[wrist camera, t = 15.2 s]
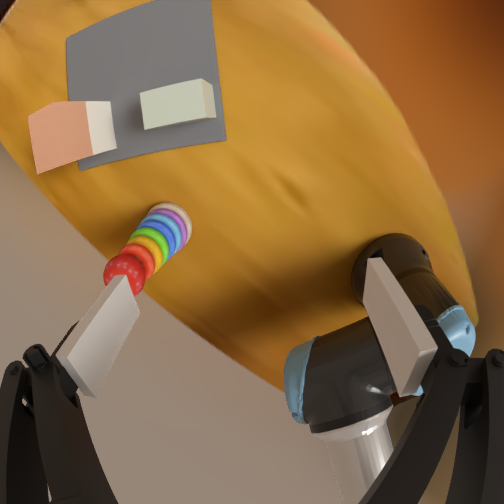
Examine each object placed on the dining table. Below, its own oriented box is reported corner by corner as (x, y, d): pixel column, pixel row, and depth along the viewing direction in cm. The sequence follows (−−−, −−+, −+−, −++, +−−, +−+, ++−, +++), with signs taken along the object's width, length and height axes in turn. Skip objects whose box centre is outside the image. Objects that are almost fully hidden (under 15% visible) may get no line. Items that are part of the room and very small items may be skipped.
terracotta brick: (60, 112, 29) (28, 116, 23) (85, 100, 28) (53, 102, 22) (68, 163, 32) (37, 174, 26) (93, 154, 32) (62, 165, 26)
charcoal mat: (209, -12, 26) (208, -13, 26) (226, 140, 38) (226, 140, 38) (67, 38, 29) (66, 38, 28) (81, 170, 40) (80, 170, 40)
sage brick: (212, 85, 34) (201, 78, 28) (216, 117, 36) (206, 117, 30) (159, 96, 35) (139, 92, 28) (163, 127, 37) (144, 129, 31)
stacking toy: (173, 191, 42) (117, 242, 25) (203, 231, 44) (166, 302, 28) (139, 217, 44) (77, 275, 27) (167, 254, 47) (122, 326, 30)
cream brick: (86, 110, 35) (60, 112, 29) (110, 101, 35) (85, 101, 28) (92, 155, 39) (68, 163, 32) (116, 148, 38) (93, 155, 32)
